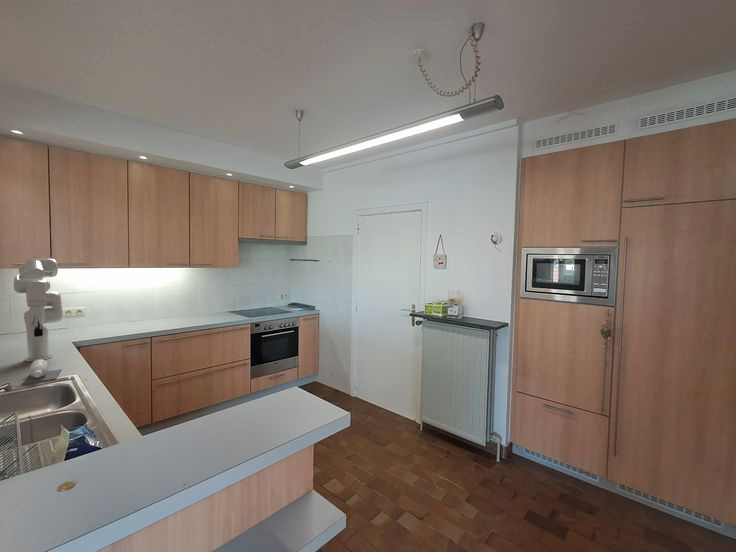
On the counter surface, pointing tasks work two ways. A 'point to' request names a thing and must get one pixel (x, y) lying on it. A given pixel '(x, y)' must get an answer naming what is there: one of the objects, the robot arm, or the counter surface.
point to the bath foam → (38, 368)
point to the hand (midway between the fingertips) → (38, 336)
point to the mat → (47, 377)
